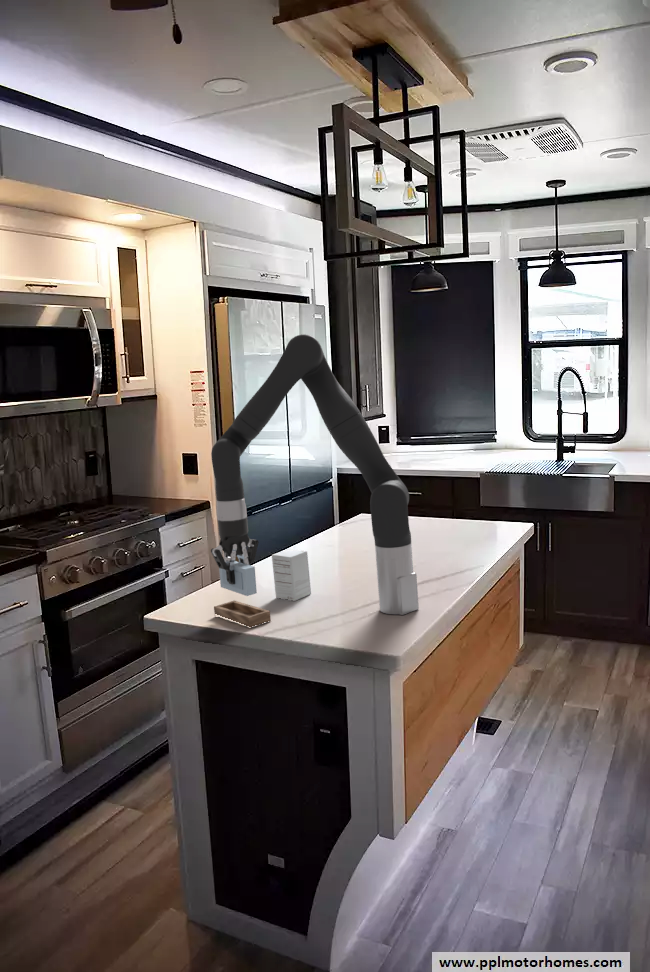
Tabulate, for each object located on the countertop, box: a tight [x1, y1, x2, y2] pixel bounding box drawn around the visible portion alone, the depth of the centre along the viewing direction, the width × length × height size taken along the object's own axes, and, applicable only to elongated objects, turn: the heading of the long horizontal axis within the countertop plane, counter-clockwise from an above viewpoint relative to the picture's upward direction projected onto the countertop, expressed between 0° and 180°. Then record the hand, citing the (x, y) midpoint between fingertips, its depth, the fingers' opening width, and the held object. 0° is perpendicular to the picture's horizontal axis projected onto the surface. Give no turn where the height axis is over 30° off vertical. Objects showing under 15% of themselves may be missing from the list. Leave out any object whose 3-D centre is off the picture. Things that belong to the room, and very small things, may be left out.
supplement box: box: [271, 548, 312, 602], centre depth 224 cm, size 7×7×13 cm
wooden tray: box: [213, 600, 272, 627], centre depth 208 cm, size 16×6×3 cm, turn 41°
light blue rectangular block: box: [218, 560, 258, 597], centre depth 207 cm, size 12×3×7 cm, turn 41°
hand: (238, 581), depth 207 cm, fingers closed on light blue rectangular block, 3 cm apart
